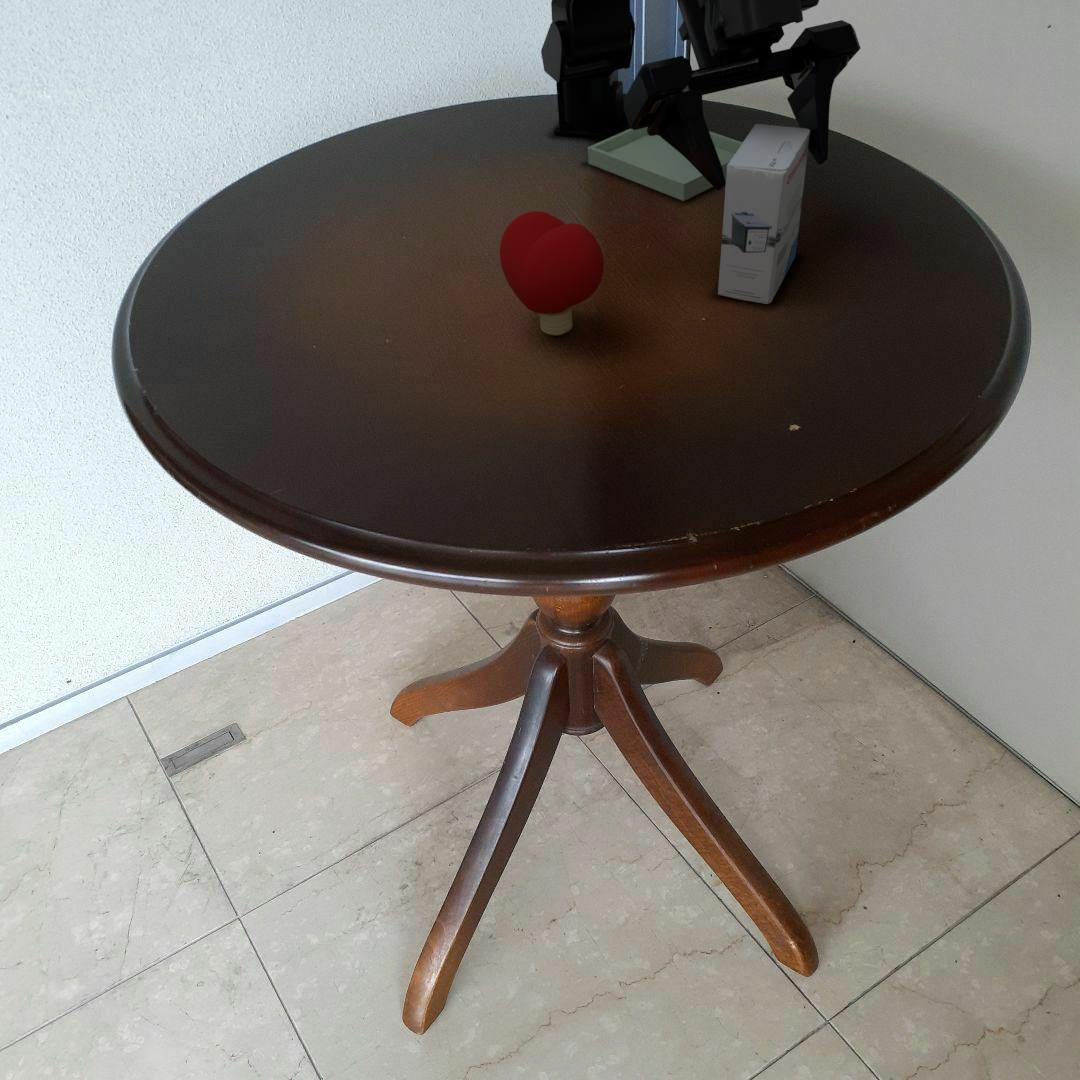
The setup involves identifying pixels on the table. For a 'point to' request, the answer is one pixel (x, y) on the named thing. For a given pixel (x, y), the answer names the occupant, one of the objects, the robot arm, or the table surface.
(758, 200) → the ink box
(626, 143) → the tray
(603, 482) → the table surface
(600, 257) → the red heart on stand
